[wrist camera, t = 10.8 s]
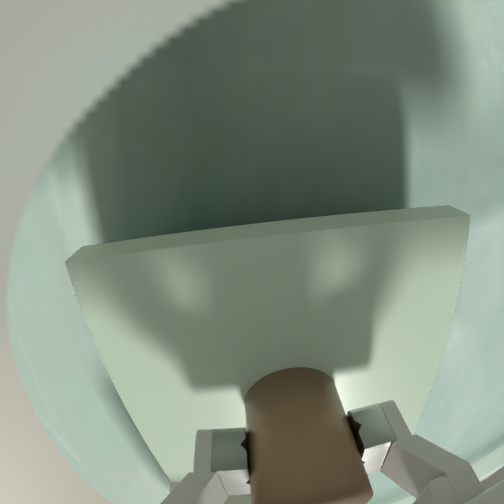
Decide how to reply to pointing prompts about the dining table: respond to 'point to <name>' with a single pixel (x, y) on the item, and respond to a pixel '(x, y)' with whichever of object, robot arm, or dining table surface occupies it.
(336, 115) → the dining table surface
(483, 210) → the dining table surface
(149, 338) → the lid
